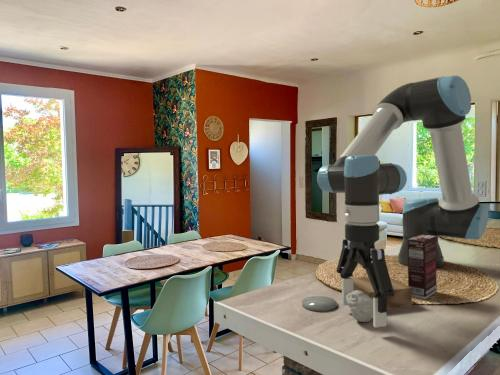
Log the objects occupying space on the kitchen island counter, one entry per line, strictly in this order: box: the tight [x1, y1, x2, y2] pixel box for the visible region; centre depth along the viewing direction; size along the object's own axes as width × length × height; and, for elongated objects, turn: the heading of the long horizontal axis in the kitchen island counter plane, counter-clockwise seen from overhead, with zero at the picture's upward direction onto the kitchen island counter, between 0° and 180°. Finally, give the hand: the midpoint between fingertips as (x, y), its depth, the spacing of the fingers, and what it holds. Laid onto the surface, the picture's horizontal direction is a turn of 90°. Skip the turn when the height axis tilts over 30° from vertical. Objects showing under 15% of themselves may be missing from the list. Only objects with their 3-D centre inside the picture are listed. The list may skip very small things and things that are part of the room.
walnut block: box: [352, 276, 413, 310], centre depth 101 cm, size 12×12×5 cm
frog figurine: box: [346, 290, 373, 323], centre depth 88 cm, size 6×7×7 cm
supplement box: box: [407, 235, 438, 300], centre depth 105 cm, size 9×5×16 cm, turn 135°
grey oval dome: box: [301, 295, 338, 313], centre depth 99 cm, size 9×9×1 cm
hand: (362, 314), depth 88 cm, fingers open, 13 cm apart
